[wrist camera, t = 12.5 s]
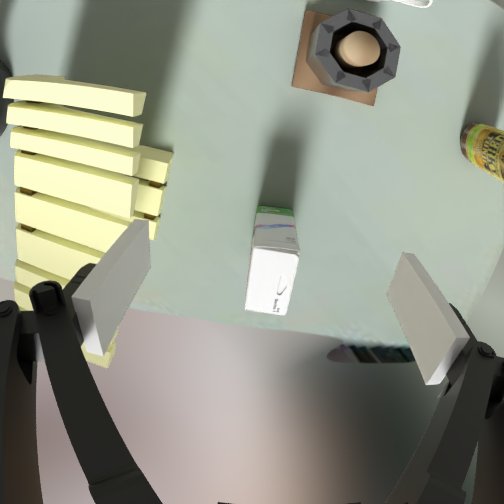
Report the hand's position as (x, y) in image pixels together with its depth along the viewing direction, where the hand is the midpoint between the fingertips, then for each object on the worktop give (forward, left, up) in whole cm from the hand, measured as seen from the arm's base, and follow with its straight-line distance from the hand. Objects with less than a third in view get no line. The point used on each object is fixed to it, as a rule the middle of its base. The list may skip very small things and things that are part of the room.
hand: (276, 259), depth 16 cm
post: (+6, +14, -26) cm, 30 cm away
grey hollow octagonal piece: (+6, +14, -25) cm, 29 cm away
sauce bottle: (+28, +9, -27) cm, 39 cm away
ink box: (+2, -11, -27) cm, 29 cm away
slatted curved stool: (-21, -7, -27) cm, 35 cm away
